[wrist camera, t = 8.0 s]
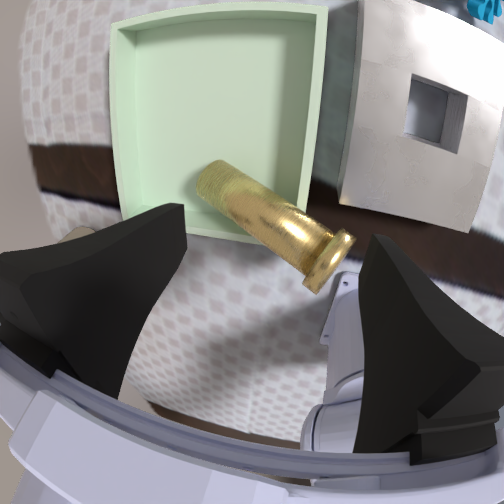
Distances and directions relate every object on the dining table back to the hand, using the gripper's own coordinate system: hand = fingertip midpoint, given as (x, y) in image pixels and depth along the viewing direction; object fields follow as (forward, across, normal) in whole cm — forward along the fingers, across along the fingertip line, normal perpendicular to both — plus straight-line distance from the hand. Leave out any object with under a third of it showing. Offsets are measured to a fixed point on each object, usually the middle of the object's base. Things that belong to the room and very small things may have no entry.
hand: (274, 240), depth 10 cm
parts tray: (+10, +6, -3) cm, 12 cm away
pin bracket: (+10, -8, -6) cm, 14 cm away
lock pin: (+8, +5, +1) cm, 10 cm away
